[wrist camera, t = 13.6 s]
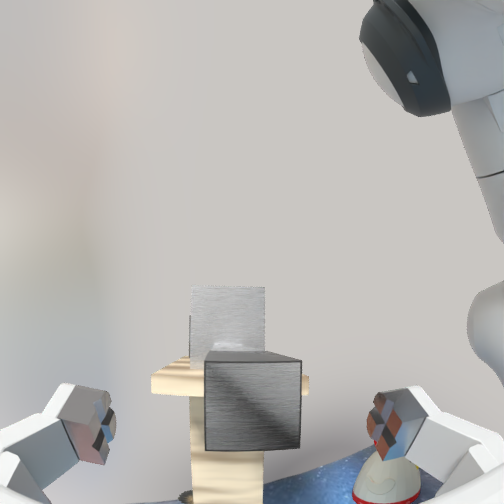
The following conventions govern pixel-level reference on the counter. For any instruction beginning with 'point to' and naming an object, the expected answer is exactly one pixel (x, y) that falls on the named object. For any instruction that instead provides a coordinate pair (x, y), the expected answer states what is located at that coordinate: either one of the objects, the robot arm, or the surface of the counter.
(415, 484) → the kitchen timer
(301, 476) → the counter surface
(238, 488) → the shelf
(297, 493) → the counter surface
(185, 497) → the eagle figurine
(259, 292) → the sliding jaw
